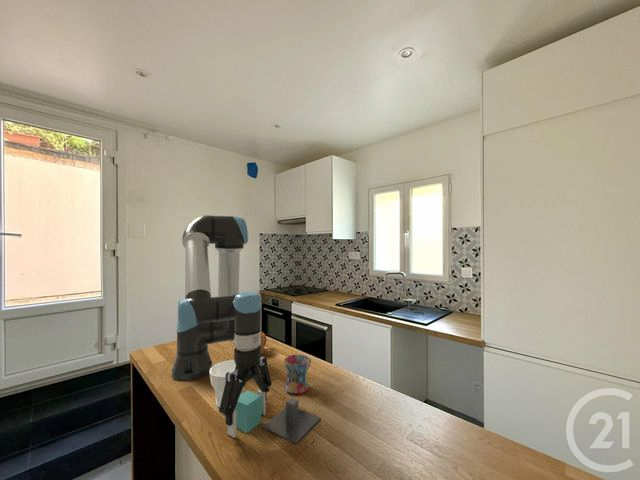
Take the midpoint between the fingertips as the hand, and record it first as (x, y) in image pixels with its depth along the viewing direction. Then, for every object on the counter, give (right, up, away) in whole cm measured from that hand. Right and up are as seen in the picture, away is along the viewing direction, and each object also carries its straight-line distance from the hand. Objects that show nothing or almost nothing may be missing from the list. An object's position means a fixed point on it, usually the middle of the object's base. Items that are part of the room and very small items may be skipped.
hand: (247, 423), depth 77 cm
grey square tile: (+13, 0, 0) cm, 13 cm away
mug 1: (-10, -2, +53) cm, 54 cm away
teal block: (0, 0, 0) cm, 0 cm away
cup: (-9, -1, +12) cm, 15 cm away
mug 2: (+13, -1, +20) cm, 24 cm away
